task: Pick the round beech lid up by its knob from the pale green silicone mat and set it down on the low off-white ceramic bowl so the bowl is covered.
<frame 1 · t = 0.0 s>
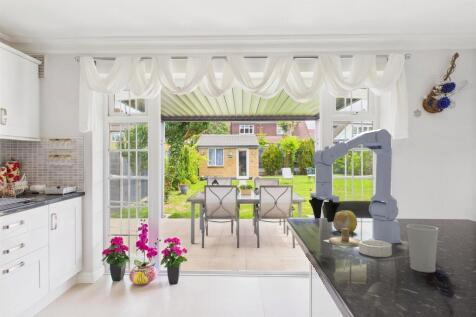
hand: (323, 220, 114), 10 cm above the counter, tool pointing down, fingers open, 7 cm apart
fruit: (344, 233, 141), on the counter
cup: (422, 269, 91), on the counter
mat: (345, 243, 121), on the counter
bowl: (375, 253, 107), on the counter
lid: (345, 242, 121), resting on mat
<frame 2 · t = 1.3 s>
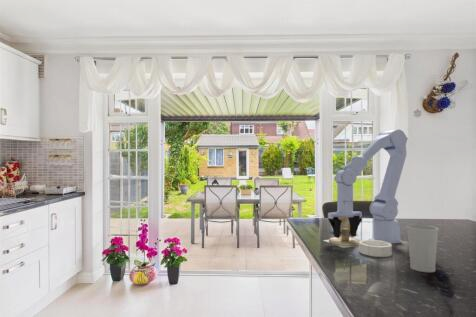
hand: (345, 236, 121), 3 cm above the counter, tool pointing down, fingers open, 7 cm apart
nothing on the counter moved.
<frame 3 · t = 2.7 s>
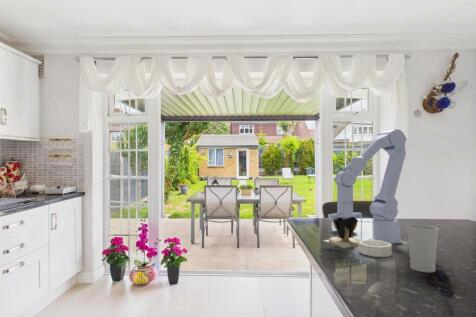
hand: (345, 237, 121), 2 cm above the counter, tool pointing down, fingers closed on lid, 3 cm apart
lid: (345, 242, 121), resting on mat, touching gripper
everything else where it was.
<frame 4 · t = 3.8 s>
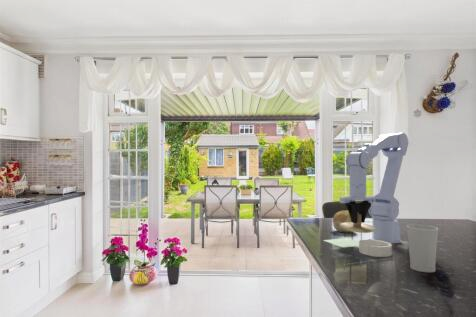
hand: (357, 222, 115), 9 cm above the counter, tool pointing down, fingers closed on lid, 3 cm apart
lid: (357, 228, 115), point 7 cm above the counter, touching gripper
everything else where it was.
when the fingers open (6 cm above the counter, at t = 5.4 s): lid stays where it is, resting on bowl.
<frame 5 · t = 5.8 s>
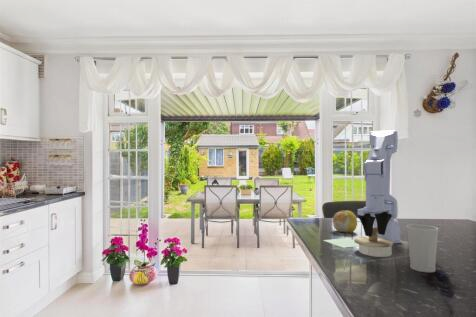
hand: (375, 235, 107), 6 cm above the counter, tool pointing down, fingers open, 6 cm apart
lid: (373, 242, 108), point 3 cm above the counter, touching bowl
everything else where it was.
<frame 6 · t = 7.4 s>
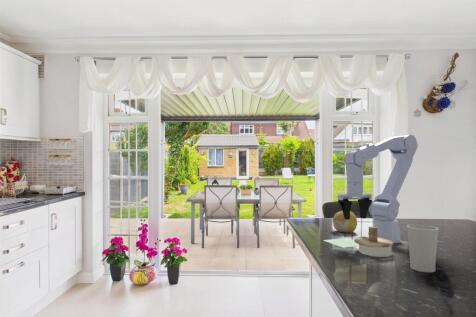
hand: (355, 218, 119), 10 cm above the counter, tool pointing down, fingers open, 7 cm apart
nothing on the counter moved.
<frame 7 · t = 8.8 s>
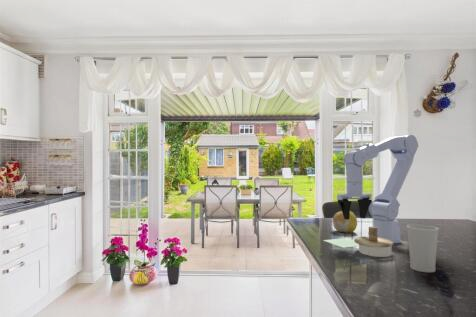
hand: (354, 218, 119), 10 cm above the counter, tool pointing down, fingers open, 7 cm apart
nothing on the counter moved.
at the end: lid 0.8 cm off-centre on the bowl, point 3.5 cm above the bowl's base; lid tilted 0°; the gripper is holding nothing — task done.
